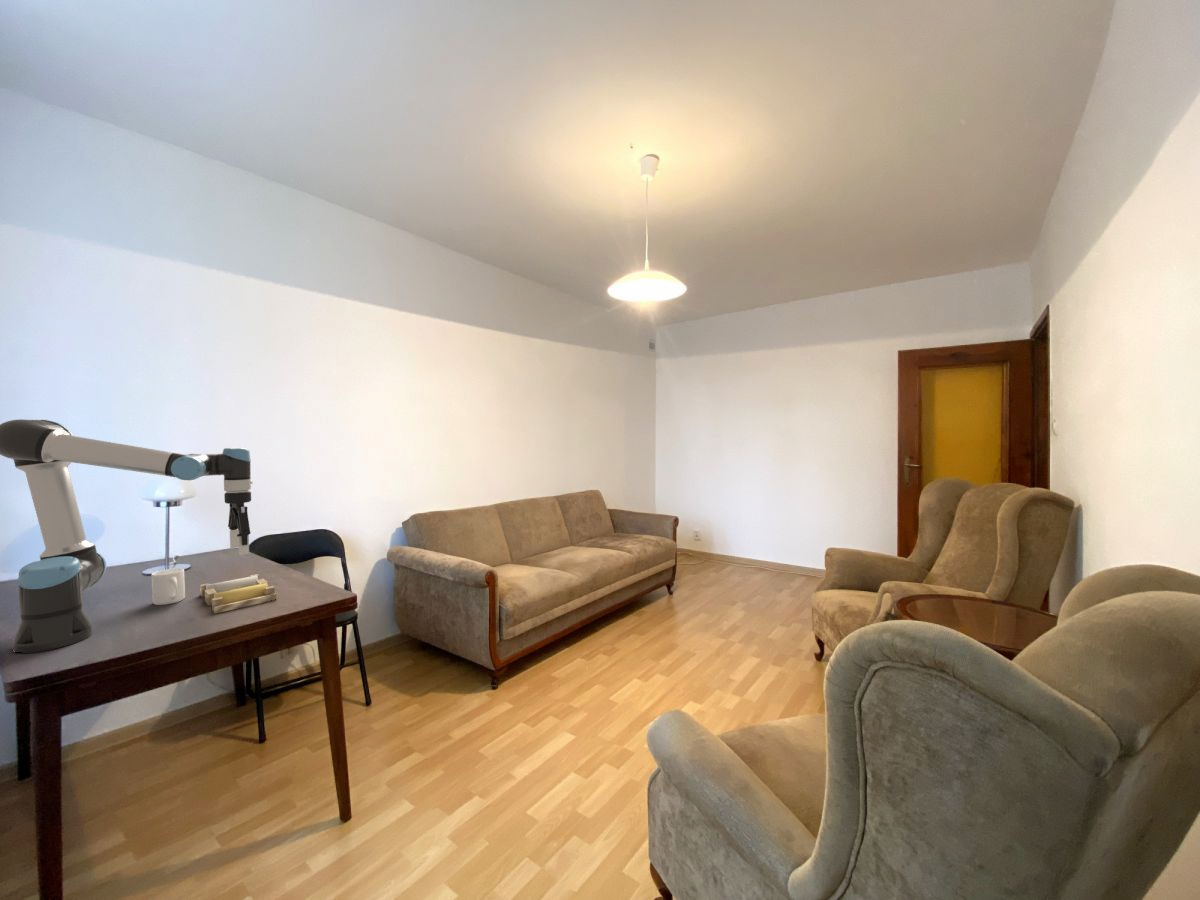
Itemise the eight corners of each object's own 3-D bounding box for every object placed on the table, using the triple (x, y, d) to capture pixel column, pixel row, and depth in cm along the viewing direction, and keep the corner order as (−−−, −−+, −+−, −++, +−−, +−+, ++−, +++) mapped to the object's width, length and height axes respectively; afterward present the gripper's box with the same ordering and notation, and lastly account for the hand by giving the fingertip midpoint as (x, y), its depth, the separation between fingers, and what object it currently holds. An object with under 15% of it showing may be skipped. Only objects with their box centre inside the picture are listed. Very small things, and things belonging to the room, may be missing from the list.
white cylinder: (208, 600, 171) (208, 587, 170) (206, 596, 174) (206, 583, 174) (258, 590, 182) (258, 577, 181) (255, 586, 185) (255, 573, 185)
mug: (160, 609, 162) (159, 578, 161) (149, 602, 168) (147, 572, 168) (192, 601, 169) (191, 571, 168) (180, 595, 175) (179, 566, 175)
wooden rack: (214, 613, 158) (214, 601, 157) (200, 594, 176) (199, 584, 175) (276, 599, 171) (276, 588, 170) (257, 583, 189) (256, 573, 188)
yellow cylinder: (217, 608, 161) (216, 593, 162) (214, 608, 165) (213, 593, 165) (269, 596, 172) (268, 582, 173) (266, 596, 176) (264, 583, 176)
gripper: (259, 493, 162) (261, 554, 163) (242, 487, 178) (243, 543, 179) (232, 495, 156) (234, 559, 157) (217, 489, 173) (218, 546, 174)
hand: (239, 550), depth 168 cm, fingers open, 13 cm apart
